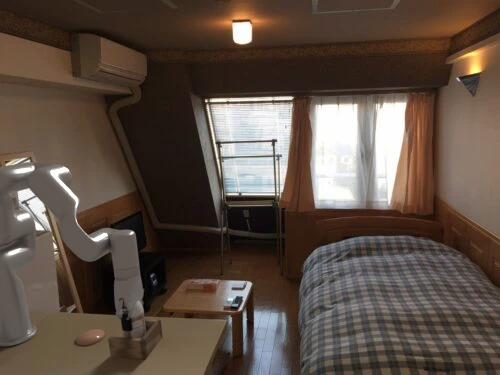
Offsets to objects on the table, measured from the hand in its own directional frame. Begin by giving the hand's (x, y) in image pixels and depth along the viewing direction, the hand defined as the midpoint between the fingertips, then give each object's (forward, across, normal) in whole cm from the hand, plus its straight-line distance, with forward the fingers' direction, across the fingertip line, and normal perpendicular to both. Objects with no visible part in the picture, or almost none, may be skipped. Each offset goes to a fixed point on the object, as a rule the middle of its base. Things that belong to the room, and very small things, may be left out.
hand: (133, 323), depth 130 cm
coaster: (+8, -3, -18) cm, 20 cm away
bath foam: (+8, 0, 0) cm, 8 cm away
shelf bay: (+8, 0, 0) cm, 8 cm away
